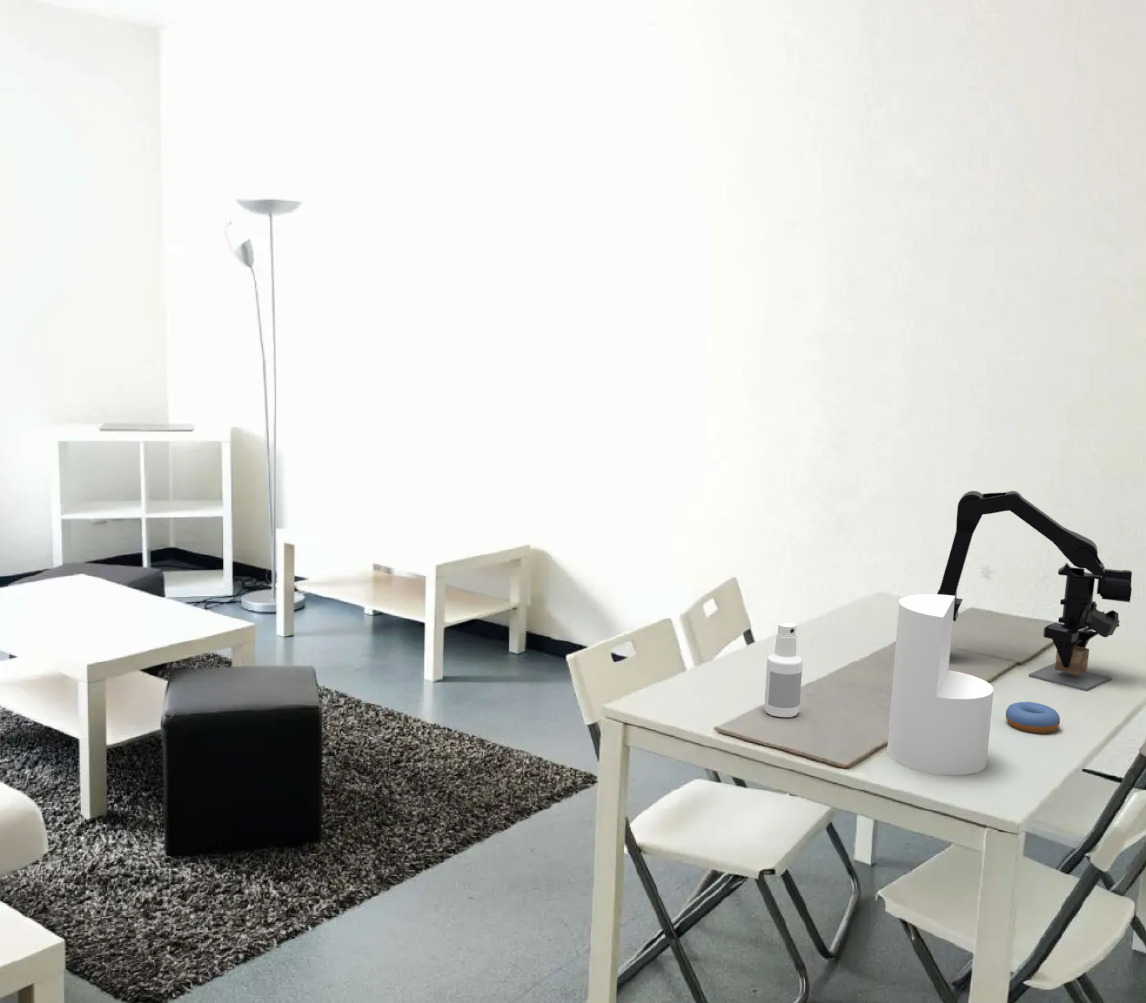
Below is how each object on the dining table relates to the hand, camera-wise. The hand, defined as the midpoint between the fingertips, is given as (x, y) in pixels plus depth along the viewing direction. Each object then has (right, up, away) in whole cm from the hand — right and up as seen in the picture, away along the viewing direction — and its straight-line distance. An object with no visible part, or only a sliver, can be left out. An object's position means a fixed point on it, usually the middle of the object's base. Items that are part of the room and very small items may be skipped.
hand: (1071, 664), depth 268 cm
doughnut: (-21, -8, -31) cm, 38 cm away
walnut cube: (0, -1, 0) cm, 1 cm away
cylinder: (-45, -10, -49) cm, 67 cm away
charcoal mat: (0, -3, 0) cm, 3 cm away
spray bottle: (-69, -6, -29) cm, 75 cm away
